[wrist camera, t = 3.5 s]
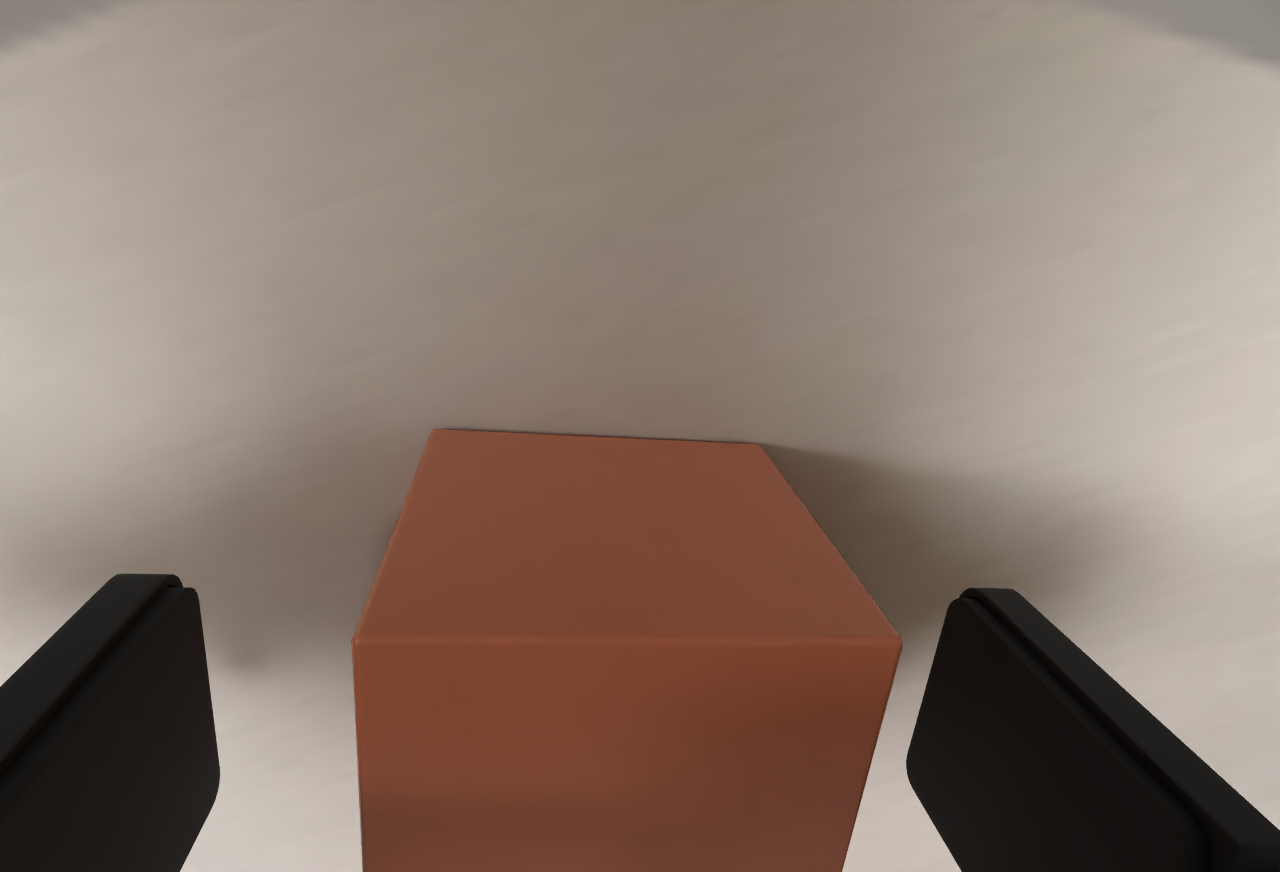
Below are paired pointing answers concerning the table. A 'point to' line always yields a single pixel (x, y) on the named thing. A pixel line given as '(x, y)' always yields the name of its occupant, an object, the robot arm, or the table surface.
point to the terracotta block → (612, 665)
